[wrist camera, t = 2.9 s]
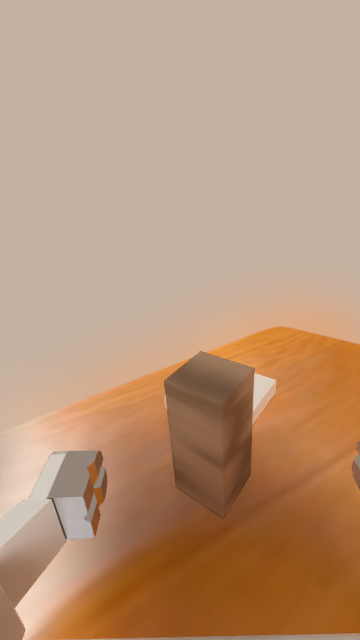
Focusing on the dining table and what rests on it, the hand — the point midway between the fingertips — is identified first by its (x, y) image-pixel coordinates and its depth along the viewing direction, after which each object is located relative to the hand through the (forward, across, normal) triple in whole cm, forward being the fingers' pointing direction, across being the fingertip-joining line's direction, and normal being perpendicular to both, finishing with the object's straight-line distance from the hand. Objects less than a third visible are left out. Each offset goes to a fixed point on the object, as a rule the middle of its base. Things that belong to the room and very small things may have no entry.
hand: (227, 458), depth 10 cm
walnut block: (+12, 0, +17) cm, 21 cm away
